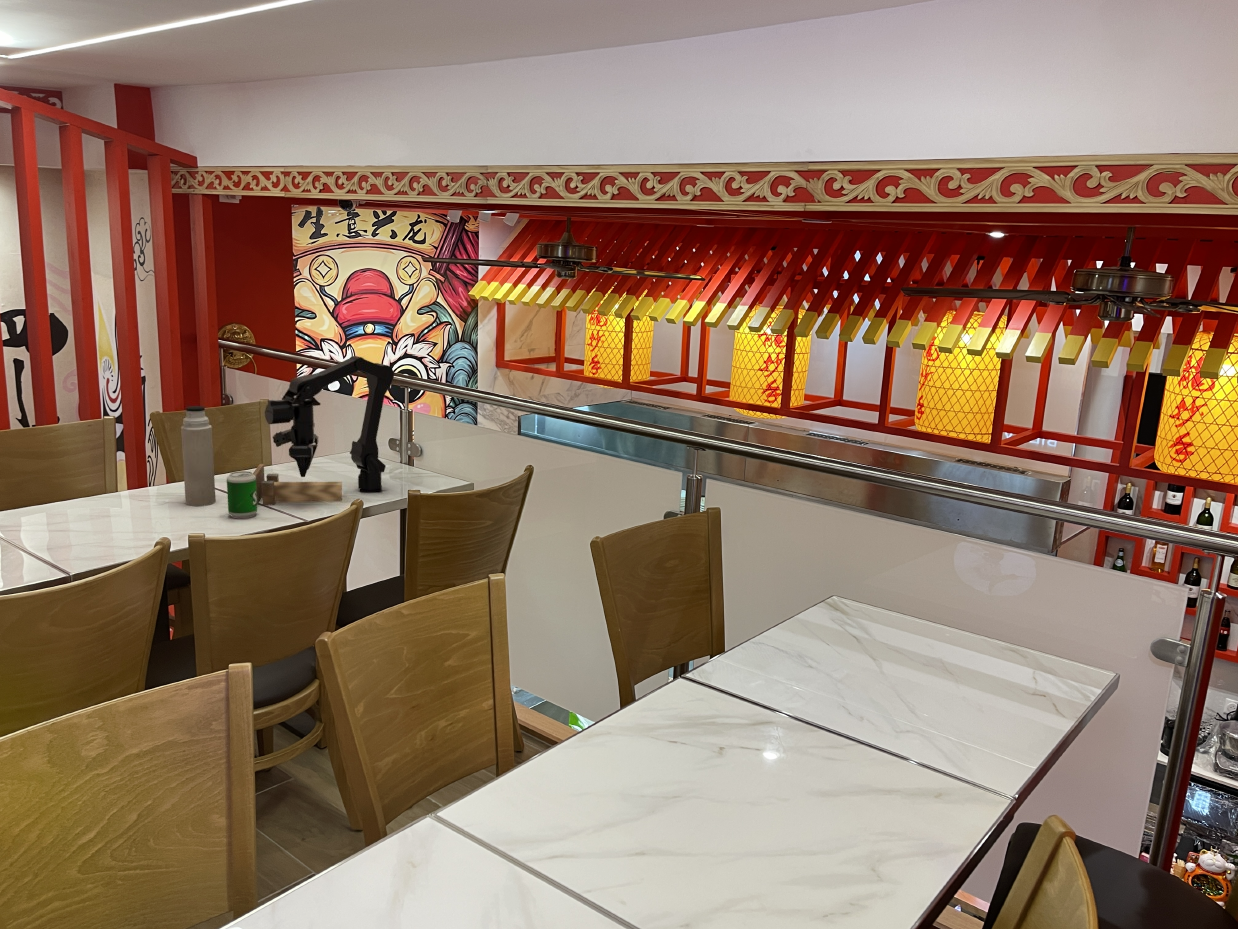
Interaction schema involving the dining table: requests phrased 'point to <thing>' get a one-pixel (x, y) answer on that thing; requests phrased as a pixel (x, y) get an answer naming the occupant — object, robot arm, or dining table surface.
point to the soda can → (242, 494)
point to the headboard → (265, 486)
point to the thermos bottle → (198, 458)
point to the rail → (307, 491)
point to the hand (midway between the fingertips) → (304, 473)
